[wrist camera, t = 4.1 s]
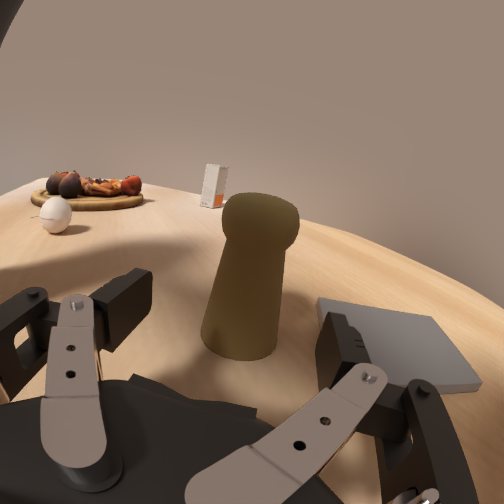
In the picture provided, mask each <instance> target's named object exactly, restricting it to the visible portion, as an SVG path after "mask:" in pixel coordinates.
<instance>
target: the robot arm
mask: <svg viewBox="0 0 504 504" xmlns="http://www.w3.org/2000/svg"><path fill="white" fill-rule="evenodd" d="M23 1H24V0H0V46H1V44H2V42H3V39H4V37H5V35H6V33H7V31H8V29H9V26H10V25H11V23H12V21H13V19H14V17H15V15H16V13H17V11H18V10H19V8H20V6H21V4H22V3H23ZM152 280H153V276H152V272H150V271H147V270H143V269H139V268H135V269H133V270H132V271H130V272H129V273H128V274H126V275H122V276H119V277H116V278H114V279H112V280H111V281H110V282H109V283H107V284H105V285H104V286H103V287H101V288H99V289H98V290H96V291H95V292H93V293H92V294H91V295H89V296H86V295H80V294H76V295H70V296H67V297H65V298H64V299H63V300H62V301H61V303H58V302H52V301H49V300H48V293H47V291H46V290H45V289H43V288H40V287H31V288H27V289H25V290H23V291H21V292H20V293H18V294H17V295H15V296H14V297H12V298H10V299H9V300H7V301H6V302H4V303H3V304H1V305H0V504H344V503H343V502H342V501H341V500H340V499H339V498H338V497H337V496H336V495H335V494H334V492H333V491H332V490H331V489H330V488H329V487H328V486H327V485H326V484H325V483H324V482H323V481H322V479H321V478H320V477H319V476H318V475H319V474H320V473H321V472H322V471H323V470H324V469H325V468H326V466H327V465H328V464H329V463H330V462H331V461H332V460H333V458H334V457H335V456H336V455H337V454H338V453H339V451H340V450H341V449H342V448H343V447H344V446H345V444H346V443H347V442H348V441H349V439H350V438H351V437H352V436H353V434H354V433H355V432H360V433H363V434H367V435H370V436H374V439H375V445H376V452H377V460H378V468H379V476H380V486H381V497H382V504H479V501H478V497H477V493H476V490H475V486H474V483H473V480H472V476H471V473H470V470H469V467H468V464H467V461H466V458H465V455H464V453H463V450H462V447H461V445H460V442H459V439H458V437H457V434H456V432H455V429H454V427H453V424H452V422H451V419H450V417H449V415H448V412H447V410H446V408H445V406H444V403H443V401H442V399H441V397H440V395H439V392H438V390H437V389H436V388H435V386H434V385H432V384H431V383H430V382H428V381H425V380H422V379H413V380H411V381H410V382H409V383H408V385H407V386H406V388H404V387H401V386H397V385H394V384H391V383H388V377H387V375H386V373H385V372H384V371H383V370H382V369H381V368H379V367H377V366H375V365H373V364H372V363H371V360H370V357H369V354H368V352H367V349H366V348H365V347H366V346H365V344H364V342H363V339H362V336H361V334H360V333H359V332H358V330H357V329H356V328H355V327H353V326H349V324H348V321H347V318H346V315H345V314H341V313H335V312H328V313H327V315H326V317H325V320H324V323H323V326H322V329H321V332H320V335H319V338H318V340H317V344H316V349H315V357H316V366H317V376H318V387H319V393H318V394H317V395H316V396H315V397H314V398H312V399H311V400H310V401H309V402H308V403H306V404H305V405H304V406H303V407H302V408H301V409H299V410H298V411H297V412H296V413H294V414H293V415H292V416H291V417H289V418H288V419H287V420H286V421H284V422H283V423H282V424H280V425H279V426H278V427H276V428H274V427H273V426H271V425H270V424H268V423H266V422H264V421H262V420H260V419H258V418H256V413H257V409H256V408H251V407H246V406H241V405H237V404H232V403H228V402H220V401H205V400H193V399H189V398H187V397H185V396H183V395H181V394H179V393H177V392H175V391H174V390H172V389H170V388H168V387H166V386H165V385H163V384H161V383H158V382H156V381H153V380H150V379H147V378H144V377H142V376H139V375H136V374H134V373H133V375H132V376H131V377H130V379H129V380H128V381H126V380H104V379H103V372H102V365H101V357H100V351H101V349H104V350H107V351H109V352H111V353H113V352H114V351H115V349H116V348H117V347H118V346H119V345H120V344H121V343H122V342H123V341H124V340H125V339H126V337H127V336H128V335H129V334H130V333H131V332H132V331H133V330H134V329H135V328H136V327H137V326H138V324H139V323H140V322H141V321H142V320H143V319H144V318H145V317H146V316H147V315H148V313H149V312H150V309H151V305H152ZM25 326H26V328H27V332H28V335H29V338H28V339H27V340H26V341H25V342H23V343H22V344H21V345H20V346H19V347H18V348H17V349H15V346H14V338H15V335H16V334H17V333H18V332H19V331H20V330H22V329H23V328H24V327H25ZM46 363H47V369H46V384H45V395H44V396H40V397H35V398H31V399H26V400H21V401H16V402H11V401H12V400H13V399H14V397H15V396H16V395H17V394H18V393H19V392H20V391H21V390H22V389H23V387H24V386H25V385H26V384H27V383H28V382H29V381H30V380H31V379H32V378H33V377H34V376H35V375H36V374H37V372H38V371H39V370H40V369H41V368H42V367H43V366H44V365H45V364H46ZM10 402H11V403H10ZM411 434H412V437H413V444H412V440H411V437H410V435H411Z"/></svg>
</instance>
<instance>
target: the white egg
mask: <svg viewBox="0 0 504 504" xmlns="http://www.w3.org/2000/svg"><path fill="white" fill-rule="evenodd" d="M36 217H38V216H36ZM71 217H72V210H71V207H70V205H69V203H68V202H67V201H66V200H65V199H63V198H61V197H52V198H50V199H48V200H47V201H46V202H45V203H44V204H43V205H42V208H41V210H40V221H41V224H42V226H43V228H44V229H45V230H47V231H48V232H51V233H60V232H62V231H64V230H65V229H66V228H67V227H68V225H69V223H70V221H71ZM32 218H34V217H32Z"/></svg>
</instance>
